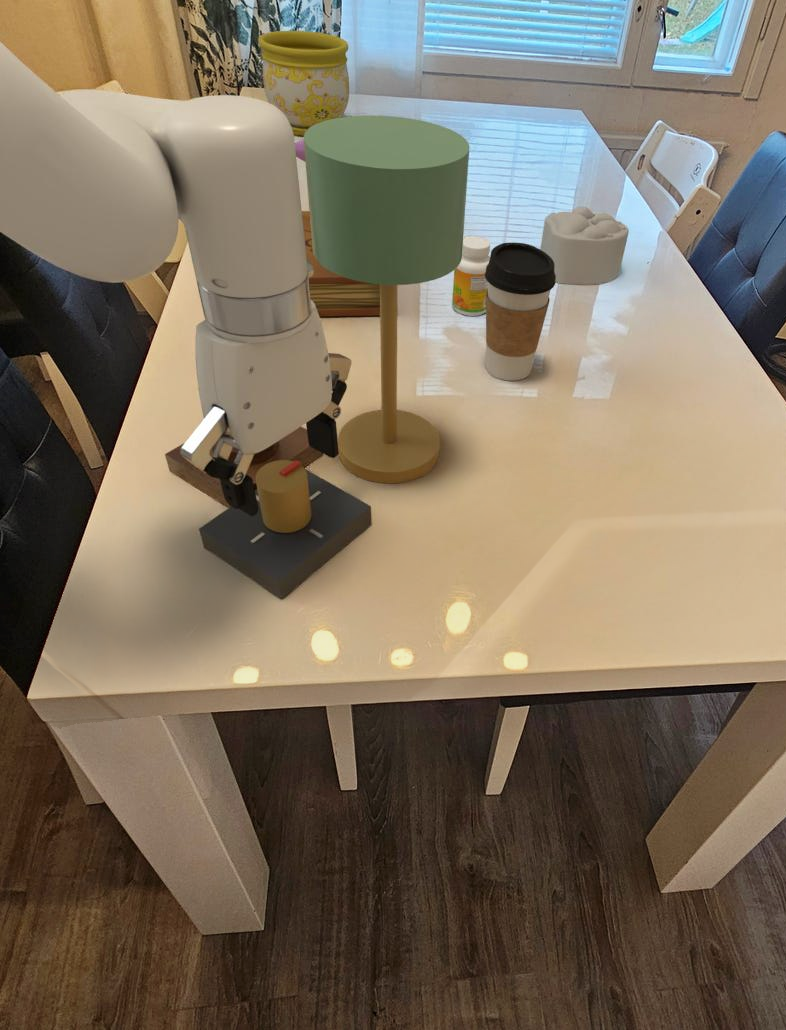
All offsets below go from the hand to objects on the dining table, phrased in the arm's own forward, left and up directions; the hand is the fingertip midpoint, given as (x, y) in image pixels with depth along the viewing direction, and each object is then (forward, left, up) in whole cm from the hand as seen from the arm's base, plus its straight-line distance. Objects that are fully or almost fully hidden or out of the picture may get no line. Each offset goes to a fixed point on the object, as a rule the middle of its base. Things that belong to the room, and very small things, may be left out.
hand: (285, 477), depth 62 cm
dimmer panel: (0, 0, -7) cm, 7 cm away
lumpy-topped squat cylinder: (+72, +7, -7) cm, 73 cm away
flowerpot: (+92, +86, -7) cm, 126 cm away
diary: (+41, +34, -7) cm, 54 cm away
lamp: (+16, +1, -7) cm, 17 cm away
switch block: (+5, +11, -7) cm, 14 cm away
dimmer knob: (0, 0, -5) cm, 5 cm away
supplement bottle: (+49, +13, -7) cm, 51 cm away
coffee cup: (+39, 0, -7) cm, 39 cm away
